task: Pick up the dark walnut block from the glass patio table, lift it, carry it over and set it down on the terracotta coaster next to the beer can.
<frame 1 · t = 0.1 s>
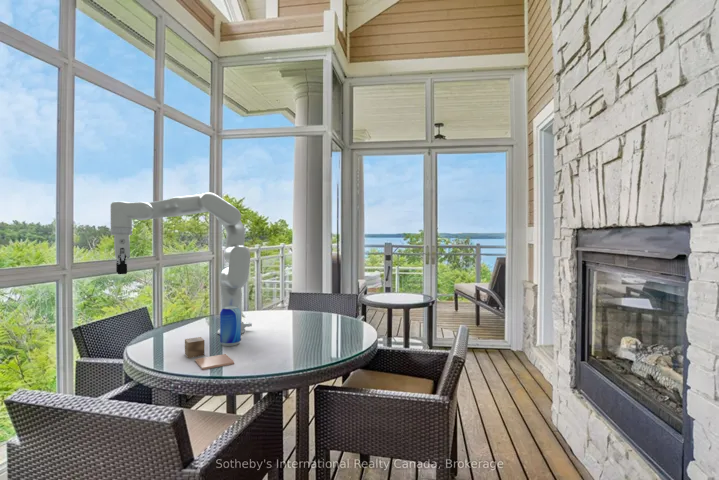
hand: (121, 273, 157), 31 cm above the table, fingers open, 9 cm apart
beer can: (230, 344, 165), on the table
coaster: (214, 362, 141), on the table
walnut block: (194, 354, 150), on the table
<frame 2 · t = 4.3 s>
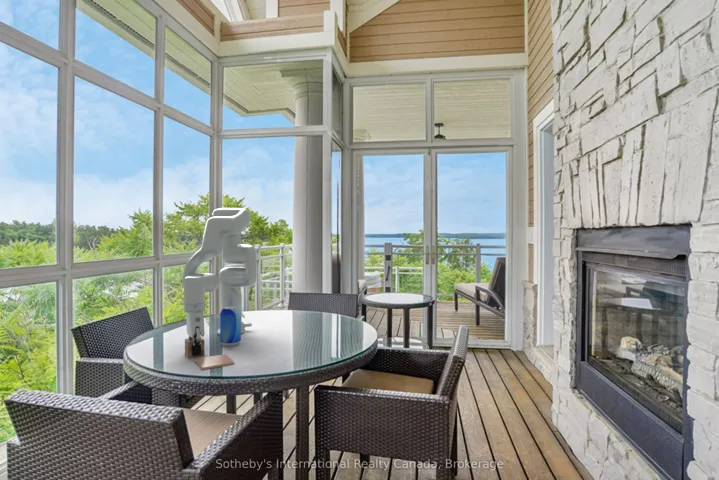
hand: (194, 352, 150), 1 cm above the table, fingers closed on walnut block, 6 cm apart
walnut block: (194, 354, 150), on the table, touching gripper
everything else where it was.
when the fingers open (3 cm above the table, at t = 9.3 s): walnut block stays where it is, resting on coaster.
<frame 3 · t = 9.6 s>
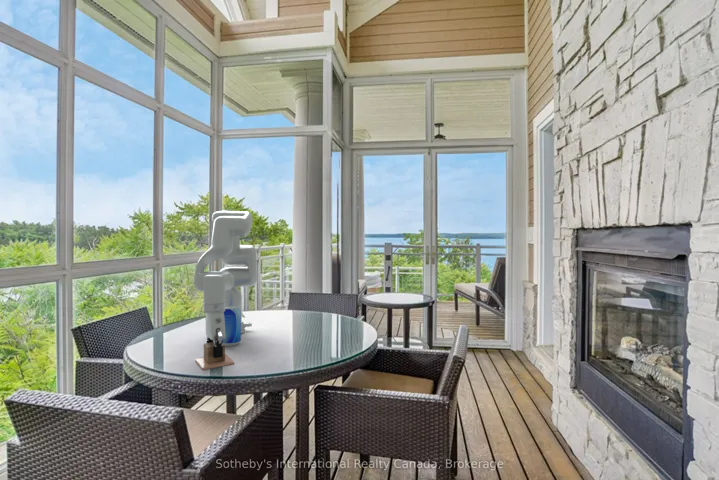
hand: (214, 353, 141), 3 cm above the table, fingers open, 9 cm apart
walnut block: (214, 360, 141), point 1 cm above the table, touching coaster
everything else where it was.
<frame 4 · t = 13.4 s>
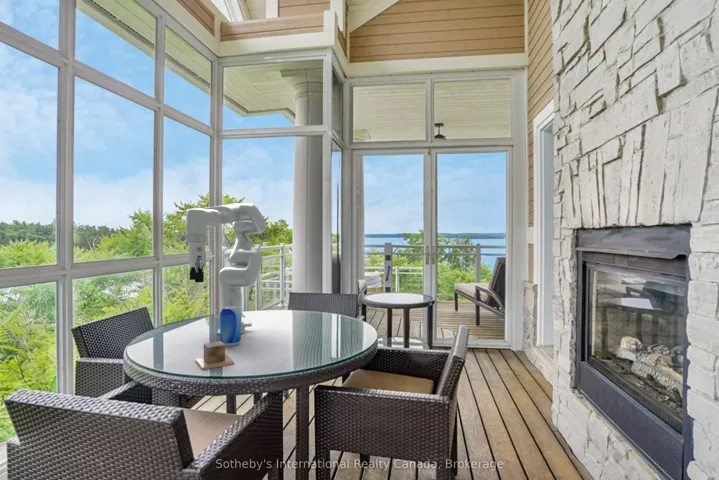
hand: (196, 280, 155), 28 cm above the table, fingers open, 9 cm apart
nothing on the table moved.
at the end: walnut block inside the target area on the coaster (0.1 cm from its centre), point 0.8 cm above the coaster's base; walnut block tilted 0°; the gripper is holding nothing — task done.
